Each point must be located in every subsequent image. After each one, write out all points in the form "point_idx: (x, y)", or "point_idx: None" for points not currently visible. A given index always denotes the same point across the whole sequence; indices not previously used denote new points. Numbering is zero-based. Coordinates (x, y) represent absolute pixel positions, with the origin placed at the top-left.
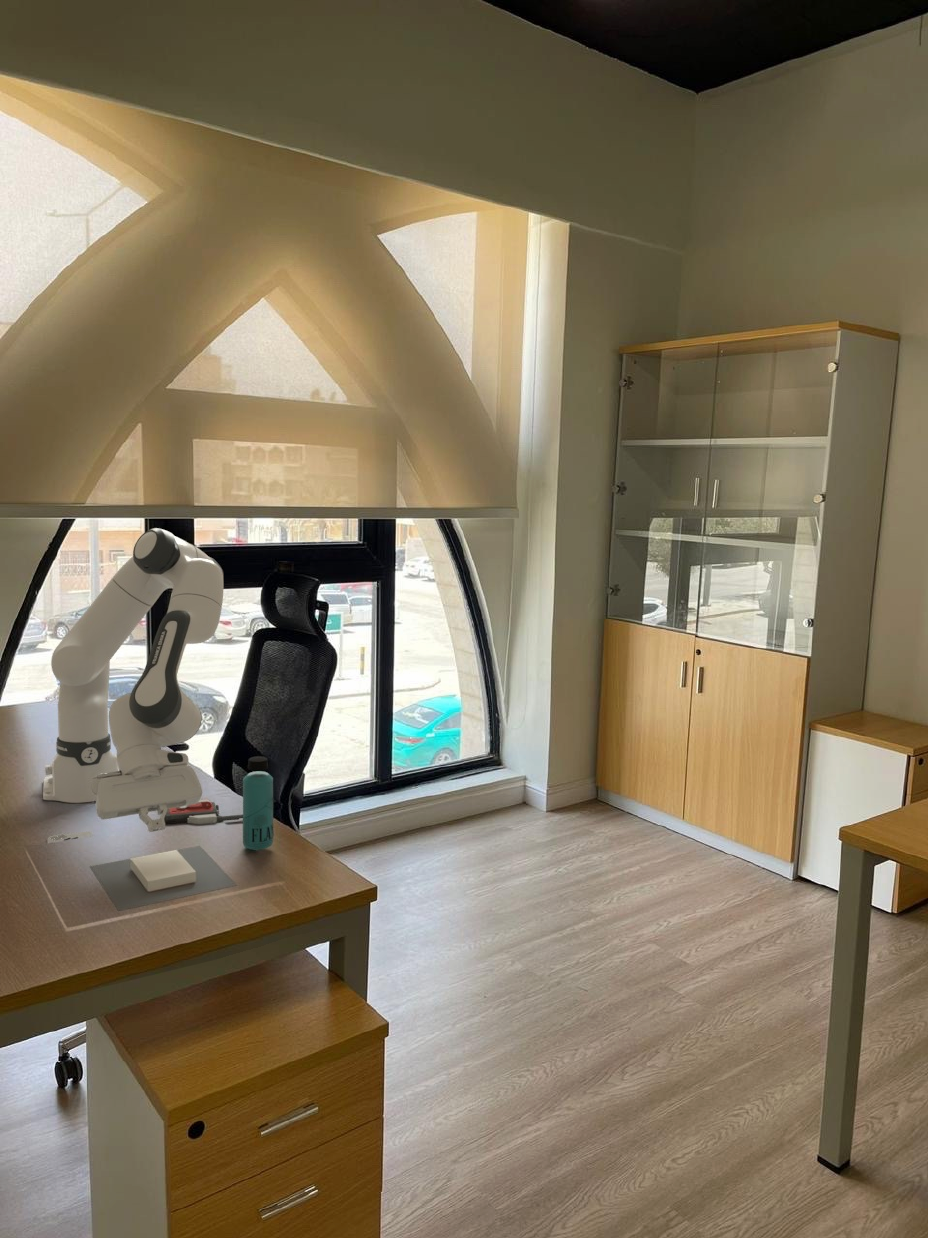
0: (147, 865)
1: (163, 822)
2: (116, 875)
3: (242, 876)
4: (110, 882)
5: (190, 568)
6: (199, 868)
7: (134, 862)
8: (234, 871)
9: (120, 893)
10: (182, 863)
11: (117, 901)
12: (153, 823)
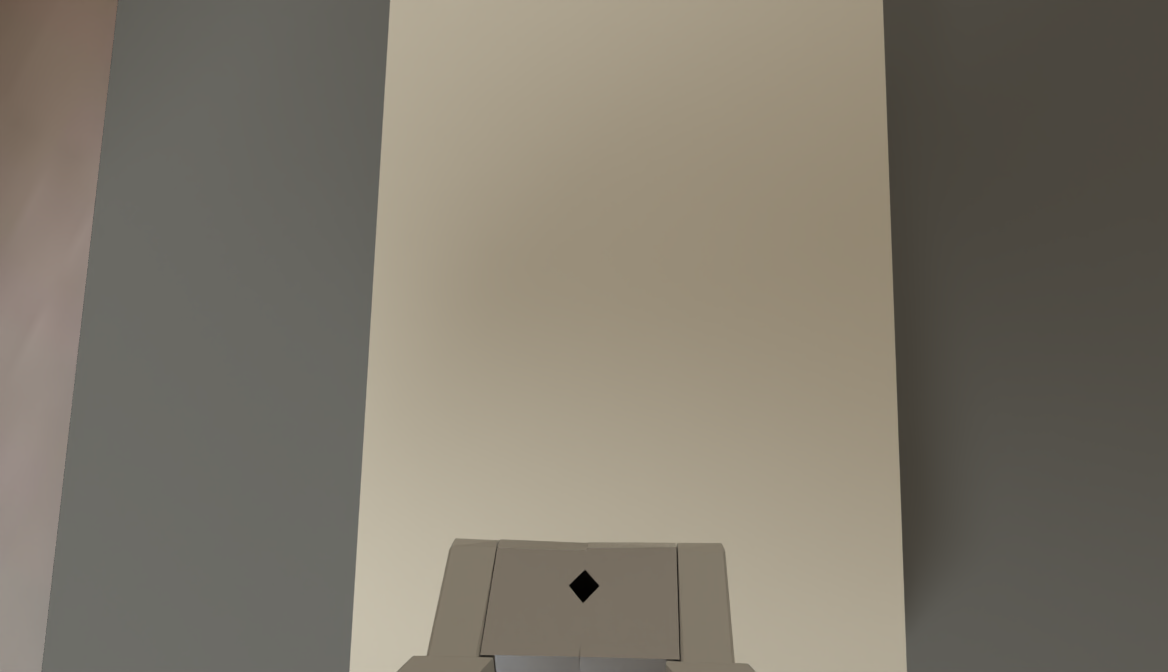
0: (781, 384)
1: (466, 583)
2: (1045, 596)
3: (5, 62)
4: (1135, 448)
5: None
6: (262, 348)
7: (892, 545)
8: (11, 192)
9: (1089, 158)
10: (431, 254)
11: (1145, 14)
12: (657, 597)
